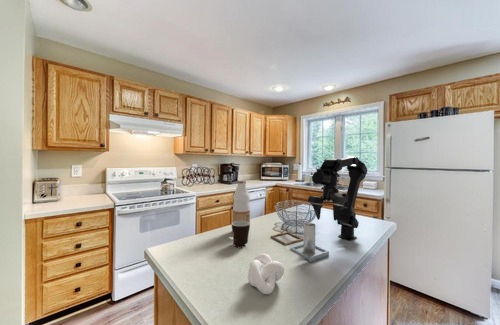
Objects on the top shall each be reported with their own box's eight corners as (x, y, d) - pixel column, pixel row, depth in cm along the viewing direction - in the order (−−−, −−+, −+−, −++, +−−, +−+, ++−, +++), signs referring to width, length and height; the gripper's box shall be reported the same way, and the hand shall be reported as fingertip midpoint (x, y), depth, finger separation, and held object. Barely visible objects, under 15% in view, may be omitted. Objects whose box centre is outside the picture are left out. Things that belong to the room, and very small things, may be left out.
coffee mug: (247, 249, 97) (247, 226, 97) (229, 247, 99) (229, 225, 99) (252, 239, 108) (252, 219, 108) (235, 238, 110) (235, 218, 110)
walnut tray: (287, 235, 114) (287, 231, 114) (303, 242, 104) (303, 238, 104) (270, 239, 108) (270, 235, 108) (285, 247, 98) (285, 243, 98)
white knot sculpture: (279, 274, 76) (279, 249, 76) (289, 297, 64) (289, 267, 64) (246, 277, 75) (247, 251, 75) (251, 299, 63) (251, 269, 63)
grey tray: (308, 246, 100) (308, 242, 100) (328, 255, 91) (328, 251, 91) (290, 252, 94) (290, 247, 94) (309, 262, 85) (310, 257, 85)
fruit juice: (234, 235, 114) (234, 182, 113) (231, 229, 123) (231, 180, 123) (251, 233, 116) (251, 181, 115) (248, 228, 125) (248, 179, 125)
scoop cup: (305, 249, 96) (305, 221, 95) (316, 251, 93) (316, 223, 93) (302, 253, 92) (302, 224, 91) (313, 256, 89) (314, 226, 89)
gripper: (324, 185, 90) (321, 223, 89) (359, 189, 96) (356, 225, 95) (308, 183, 100) (305, 217, 99) (341, 187, 106) (338, 219, 105)
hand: (326, 219), depth 99 cm, fingers open, 9 cm apart
